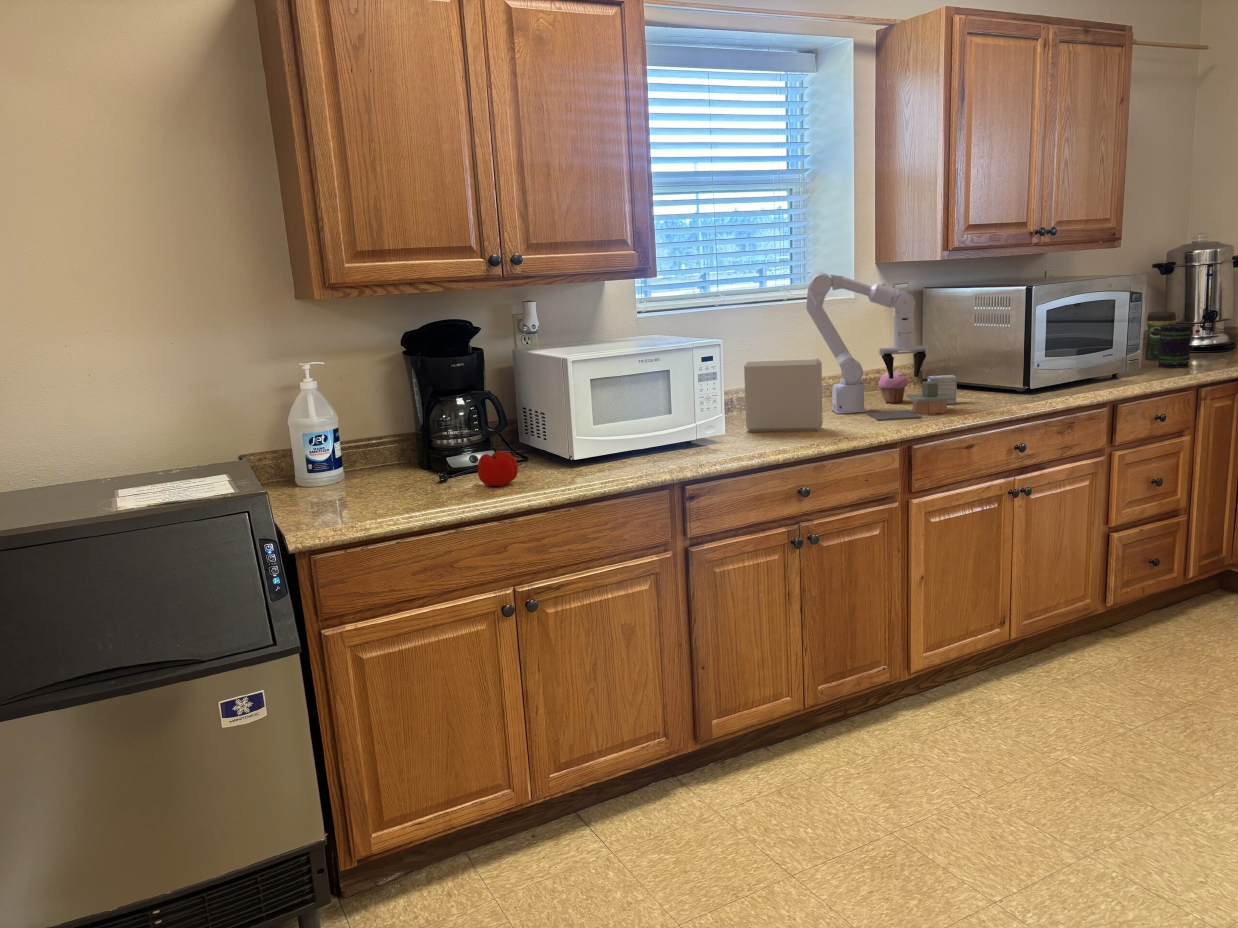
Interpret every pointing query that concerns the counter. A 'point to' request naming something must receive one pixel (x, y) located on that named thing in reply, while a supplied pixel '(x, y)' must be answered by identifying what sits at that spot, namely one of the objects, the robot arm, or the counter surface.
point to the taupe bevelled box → (783, 395)
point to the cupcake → (893, 387)
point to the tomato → (497, 468)
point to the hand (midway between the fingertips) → (903, 377)
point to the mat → (893, 415)
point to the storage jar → (1174, 346)
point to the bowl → (930, 407)
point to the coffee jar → (1157, 331)
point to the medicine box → (946, 385)
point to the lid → (930, 393)
